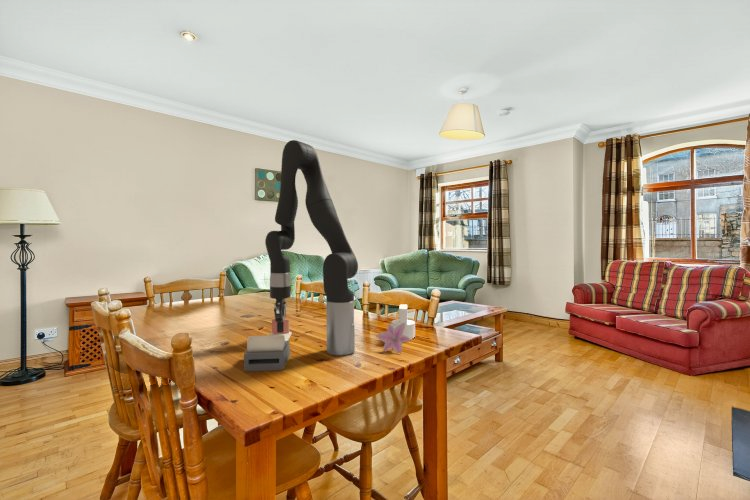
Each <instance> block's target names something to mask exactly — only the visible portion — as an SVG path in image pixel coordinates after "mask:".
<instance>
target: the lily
mask: <svg viewBox="0 0 750 500" xmlns="http://www.w3.org/2000/svg"><path fill="white" fill-rule="evenodd" d="M405 324H406V323H402V324H400V325H398V326H397V327H396V328H394V327H393V326H392V323H387V326H386V328H387V329H386V330H387V331H383V332H381V333H377V334H376V335H375V338H377V339H378V340H380V341H382V342H383V343H384V346H383V348H382V349H383V350H382V352H383V351H385V352H387V351H389V350H391V349H392V350H393V351H394V352H395V353H396V354H397V353H401V354H402V350H403V349H402V347H403V346H402V345H403V344H402V343H406V342H410V340H411V339H410V338H409V337H407V336H405V335H403V332H404V329H405ZM411 341H412V340H411Z"/></svg>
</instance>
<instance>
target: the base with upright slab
mask: <svg viewBox="0 0 750 500" xmlns="http://www.w3.org/2000/svg"><path fill="white" fill-rule="evenodd" d="M402 323H406V324H405V329H404V332H403V335H405V336H407V337H409V338H410V339H412V338H414V337H415V338H416V321H415V320H411V319H408V304H406V303H405V304H400V303H399V308H398V319H394V320H392V321H391V325H392V326H393V327H394V328H396V327H397V326H398V325H400V324H402Z"/></svg>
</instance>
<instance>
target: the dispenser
mask: <svg viewBox="0 0 750 500" xmlns="http://www.w3.org/2000/svg"><path fill="white" fill-rule="evenodd" d="M290 356H291V348H290V340H288V341H285V336H284V335H269V334H268V335H249V336H248V338H247V342H246V351H245V352H244V354H243V371H244V372H262V371H263V372H264V371H265V372H266V371H267V372H268V371H270V372H271V371H284V370H285V367H286V365H287V363H288V360H289V358H290Z"/></svg>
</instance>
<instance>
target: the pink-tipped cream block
mask: <svg viewBox="0 0 750 500" xmlns="http://www.w3.org/2000/svg"><path fill="white" fill-rule="evenodd" d="M283 329H284V331H283V332H277V322H276V321H275V318H272V319H271V331H270V333H269V334H268V336H269V335H284V336H285V341H290V340H289V339H290V337H291V335H292V333H293V332H292V331H290V318H285V319H284V322H283Z"/></svg>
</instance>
